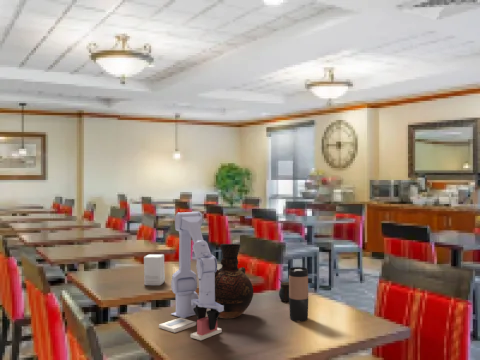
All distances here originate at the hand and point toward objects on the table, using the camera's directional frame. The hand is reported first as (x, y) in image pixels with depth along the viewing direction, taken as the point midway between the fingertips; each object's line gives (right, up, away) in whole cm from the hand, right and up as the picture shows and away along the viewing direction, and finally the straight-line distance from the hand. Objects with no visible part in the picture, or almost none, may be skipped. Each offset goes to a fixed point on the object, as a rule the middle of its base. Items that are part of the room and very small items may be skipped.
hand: (207, 327), depth 168 cm
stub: (0, -3, 0) cm, 3 cm away
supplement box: (-34, -2, +81) cm, 88 cm away
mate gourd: (+33, -2, +45) cm, 56 cm away
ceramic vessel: (+7, -3, +23) cm, 24 cm away
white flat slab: (-12, -3, +10) cm, 16 cm away
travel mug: (+35, -2, +19) cm, 40 cm away
